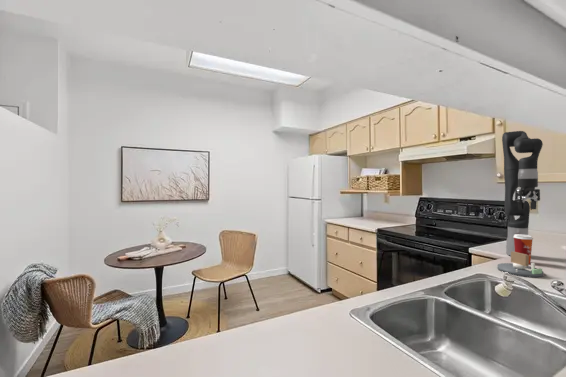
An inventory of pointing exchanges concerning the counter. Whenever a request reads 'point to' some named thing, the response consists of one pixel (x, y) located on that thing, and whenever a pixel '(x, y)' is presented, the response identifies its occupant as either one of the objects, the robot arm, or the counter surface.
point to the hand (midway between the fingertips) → (527, 209)
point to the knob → (521, 261)
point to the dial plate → (520, 270)
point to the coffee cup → (523, 244)
